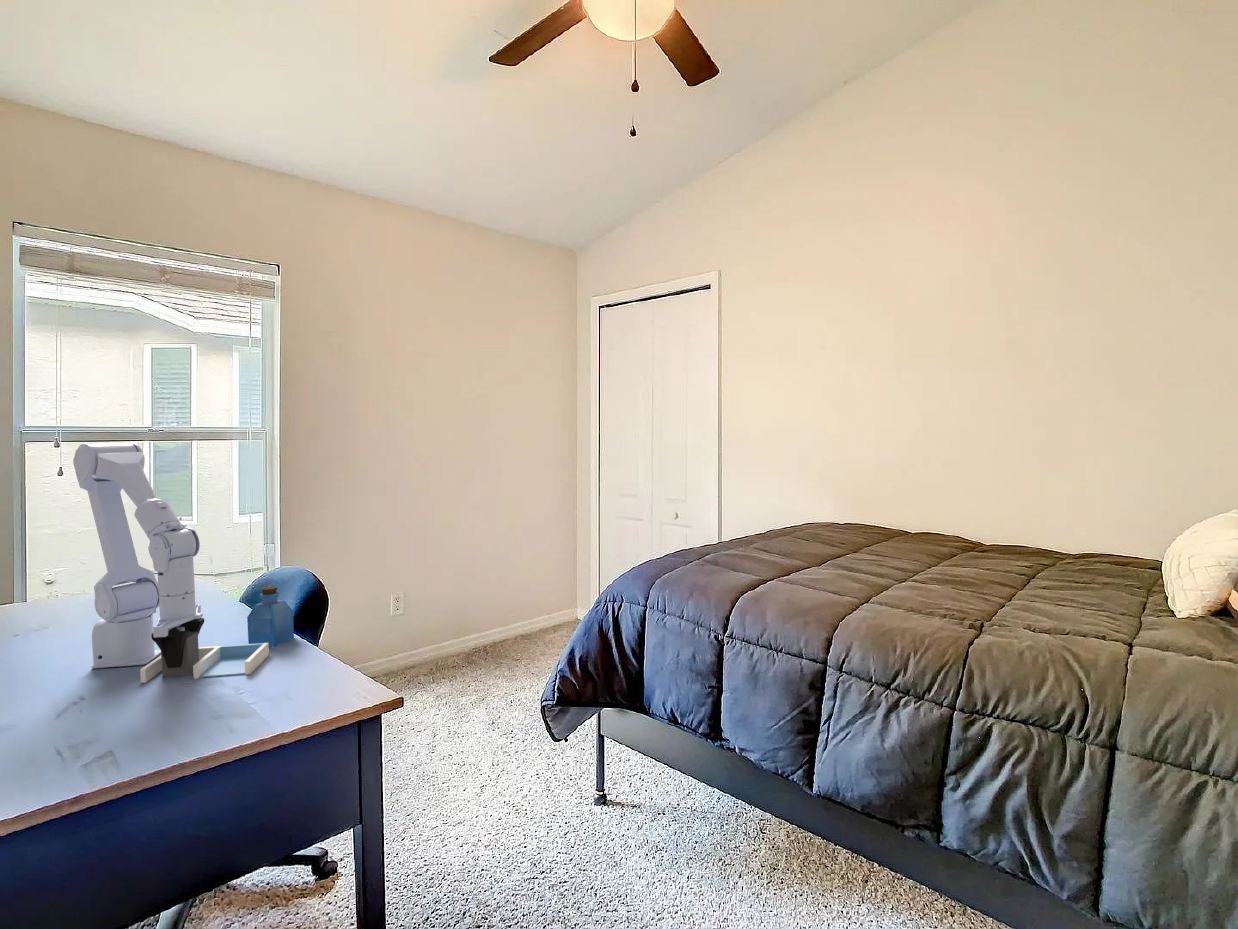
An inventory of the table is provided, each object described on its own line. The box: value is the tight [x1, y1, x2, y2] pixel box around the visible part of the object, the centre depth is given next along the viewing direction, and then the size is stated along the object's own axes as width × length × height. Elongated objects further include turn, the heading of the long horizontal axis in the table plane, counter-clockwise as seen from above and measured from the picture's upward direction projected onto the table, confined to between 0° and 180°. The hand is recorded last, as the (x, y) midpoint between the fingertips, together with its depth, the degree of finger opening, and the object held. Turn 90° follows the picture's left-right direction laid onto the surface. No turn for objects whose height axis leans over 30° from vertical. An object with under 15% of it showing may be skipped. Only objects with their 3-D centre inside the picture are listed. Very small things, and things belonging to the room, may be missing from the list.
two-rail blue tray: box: [139, 643, 270, 684], centre depth 126 cm, size 18×11×2 cm, turn 101°
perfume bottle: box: [246, 585, 295, 648], centre depth 141 cm, size 6×6×12 cm
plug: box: [160, 627, 199, 678], centre depth 124 cm, size 4×4×8 cm
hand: (180, 662), depth 124 cm, fingers closed on plug, 4 cm apart
